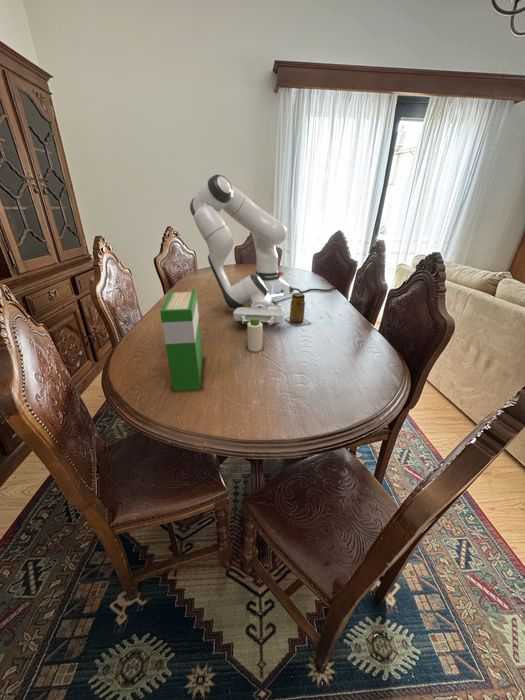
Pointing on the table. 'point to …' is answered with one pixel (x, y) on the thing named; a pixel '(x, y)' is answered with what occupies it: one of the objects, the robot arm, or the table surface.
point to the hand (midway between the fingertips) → (256, 322)
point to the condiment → (297, 310)
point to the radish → (254, 334)
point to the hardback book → (183, 339)
